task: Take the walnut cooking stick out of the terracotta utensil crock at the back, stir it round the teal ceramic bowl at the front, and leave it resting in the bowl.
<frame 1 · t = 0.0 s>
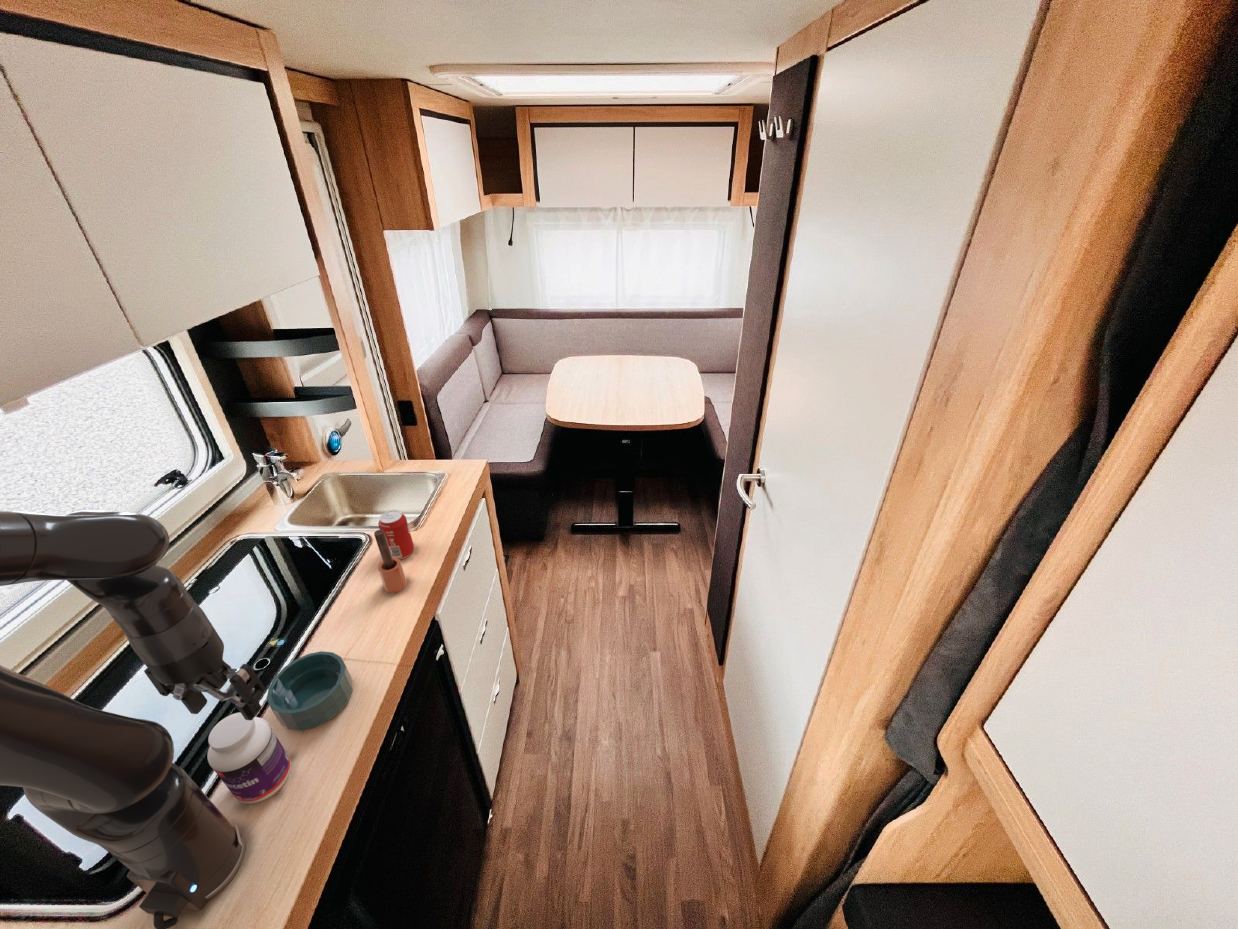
hand: (227, 711, 75), 17 cm above the worktop, tool pointing down, fingers open, 8 cm apart
beverage can: (402, 554, 129), on the worktop
bowl: (317, 700, 95), on the worktop
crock: (396, 586, 119), on the worktop
cooking stick: (395, 585, 119), resting on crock
pill bottle: (266, 780, 83), on the worktop
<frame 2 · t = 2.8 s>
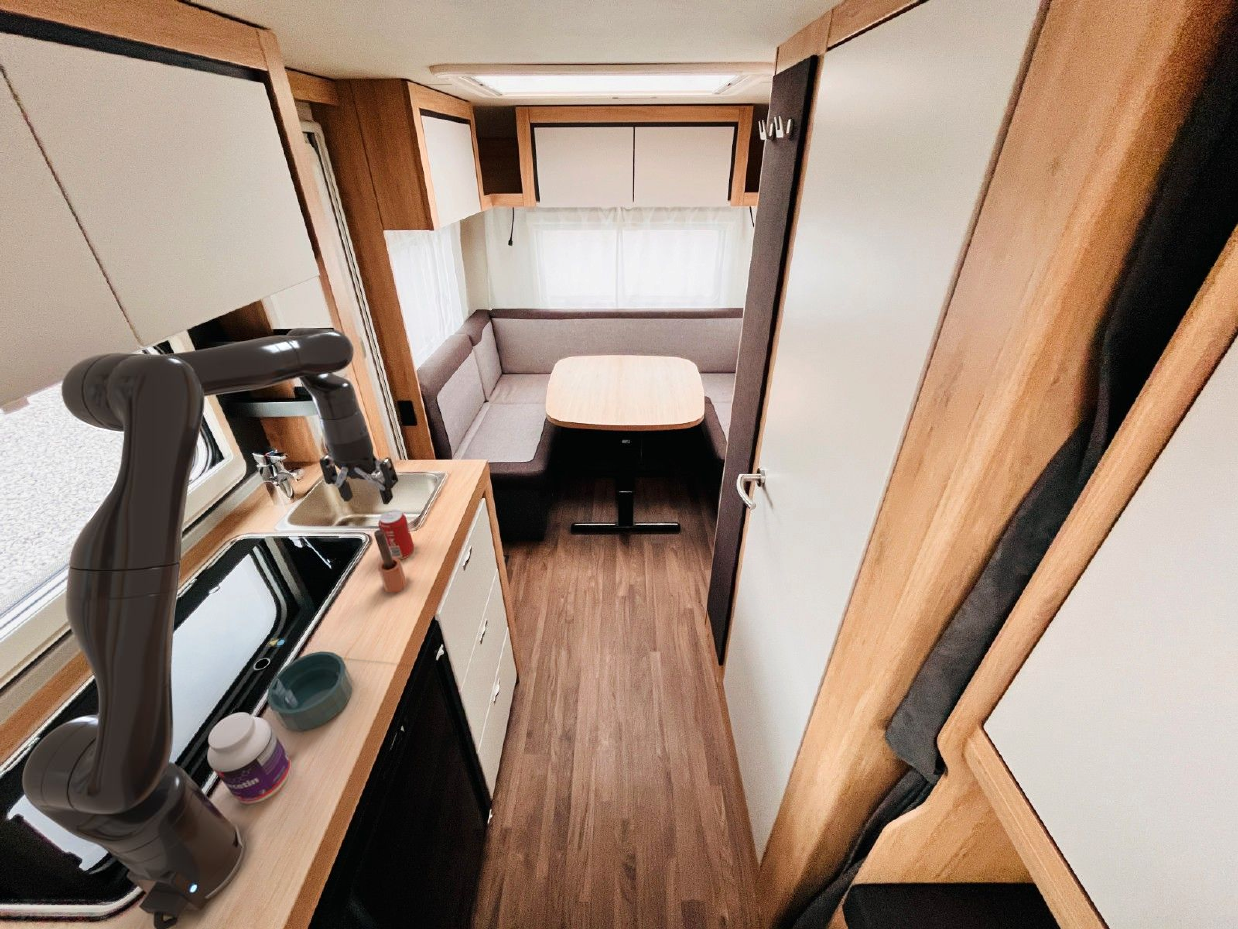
hand: (368, 500, 105), 25 cm above the worktop, tool pointing down, fingers open, 8 cm apart
nothing on the worktop moved.
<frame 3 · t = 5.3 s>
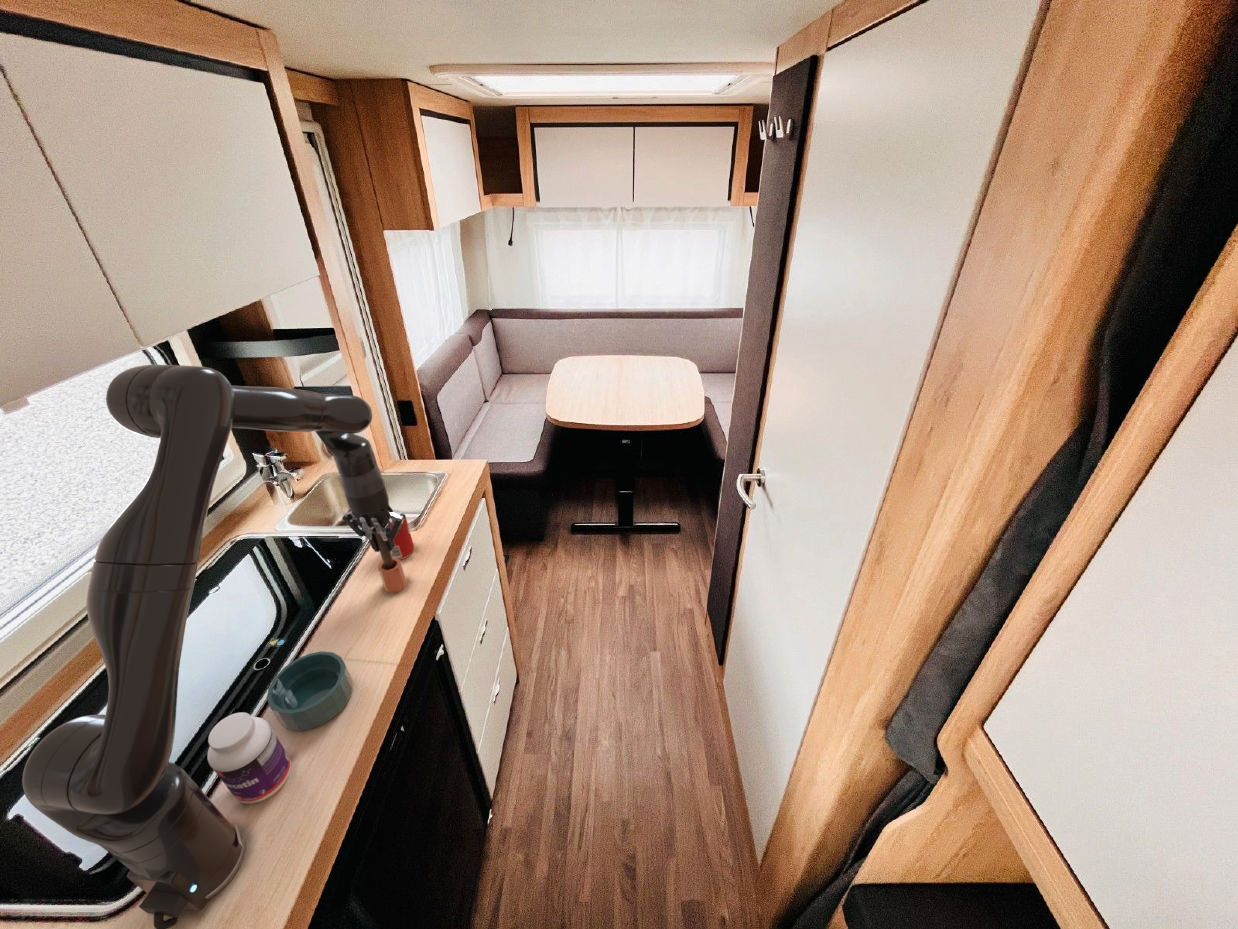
hand: (384, 549, 113), 12 cm above the worktop, tool pointing down, fingers closed on cooking stick, 2 cm apart
cooking stick: (396, 585, 119), point 1 cm above the worktop, touching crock, gripper
everything else where it was.
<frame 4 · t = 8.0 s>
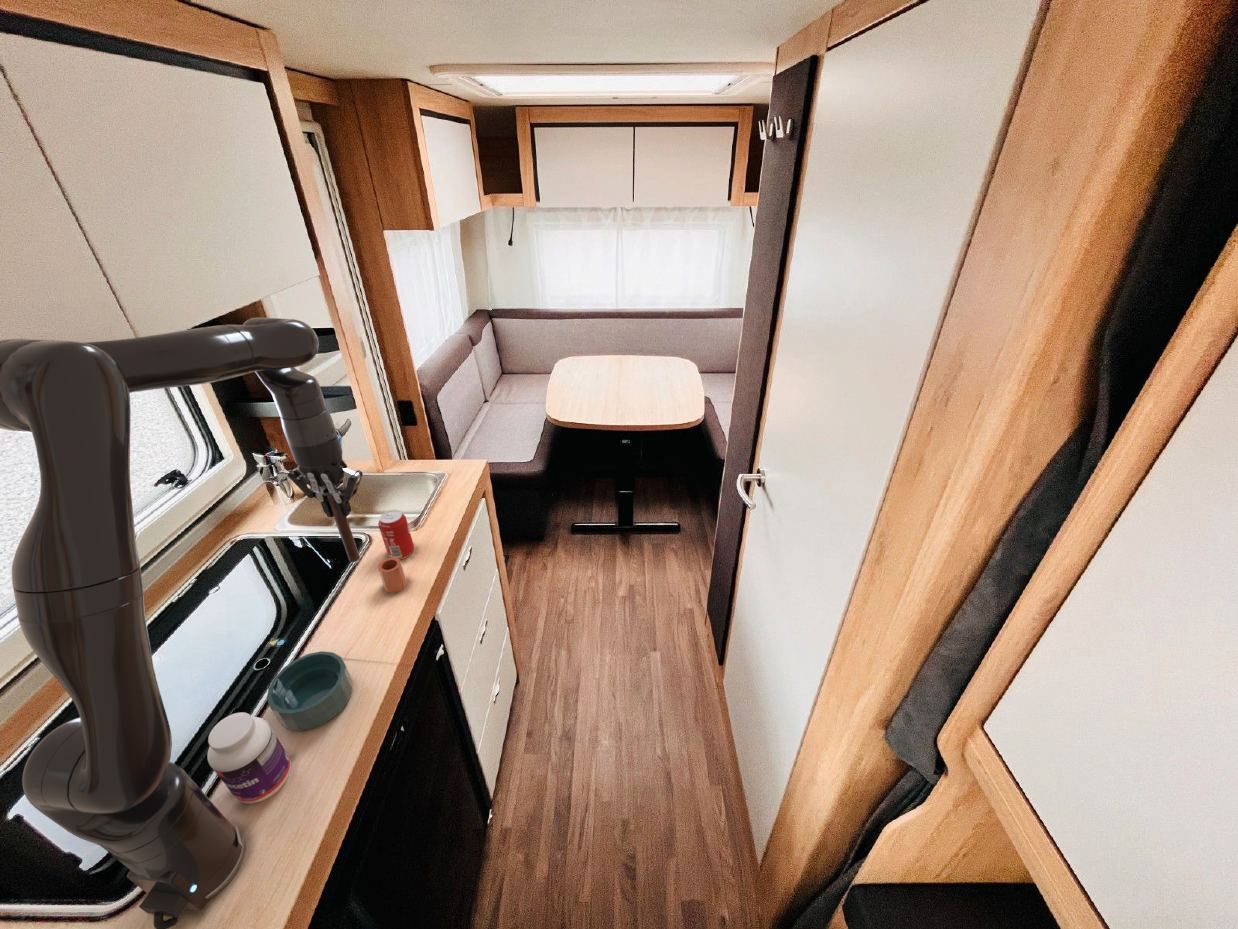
hand: (339, 514, 97), 28 cm above the worktop, tool pointing down, fingers closed on cooking stick
cooking stick: (354, 558, 102), point 17 cm above the worktop, touching gripper
everything else where it was.
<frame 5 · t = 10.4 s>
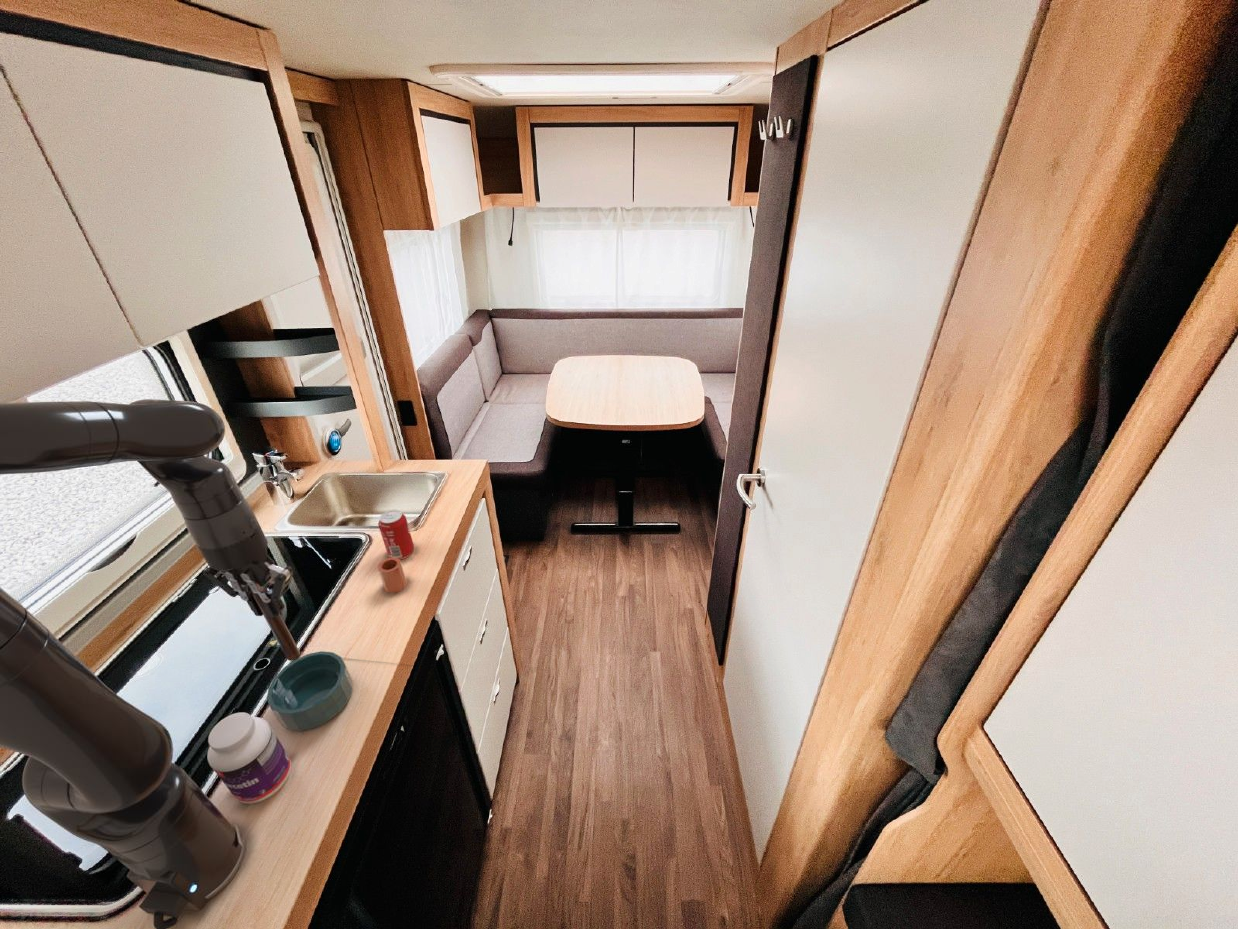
hand: (270, 612, 82), 24 cm above the worktop, tool pointing down, fingers closed on cooking stick
cooking stick: (293, 655, 88), point 13 cm above the worktop, touching gripper
everything else where it was.
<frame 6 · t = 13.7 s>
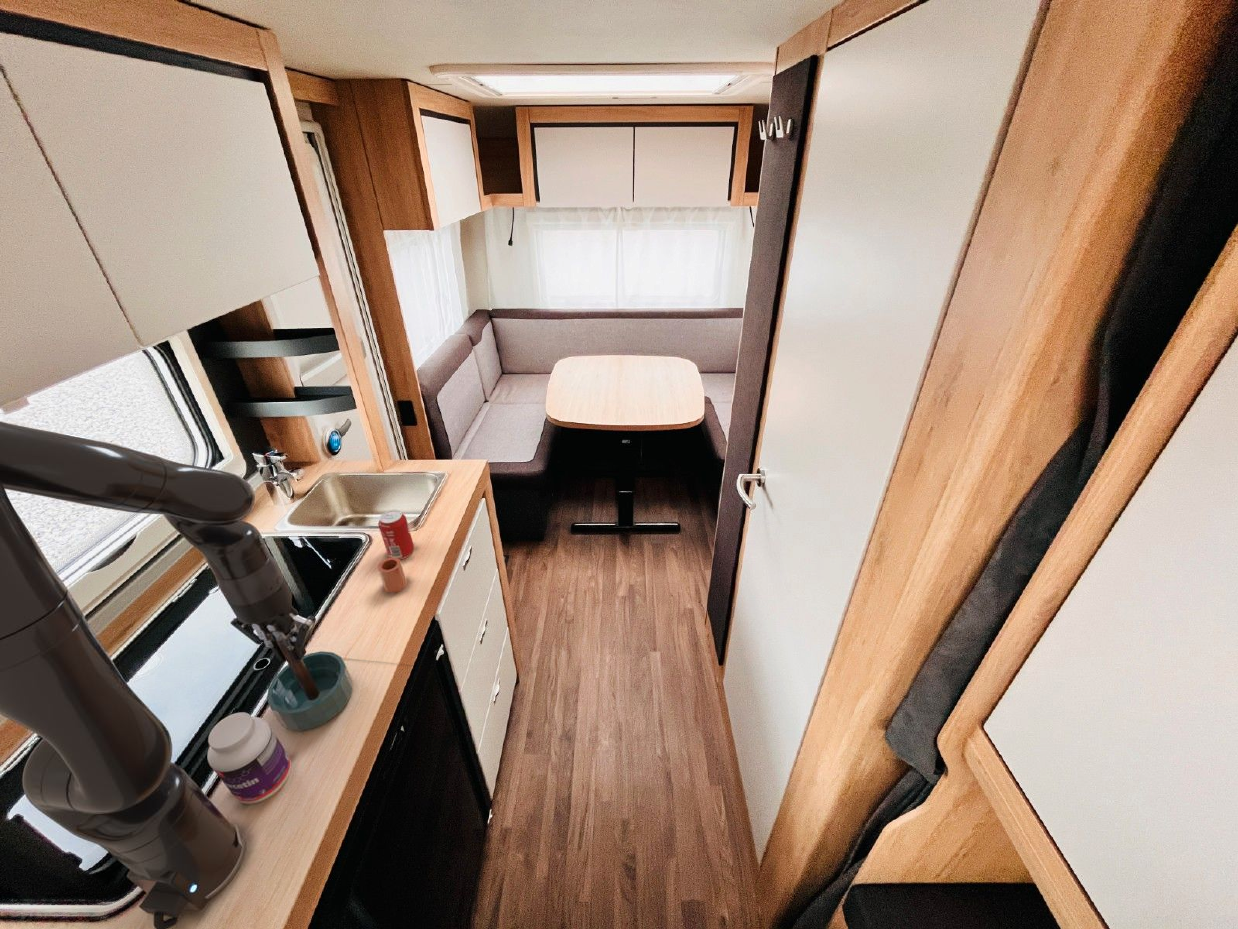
hand: (293, 657, 86), 14 cm above the worktop, tool pointing down, fingers closed on cooking stick, 2 cm apart
cooking stick: (313, 695, 92), point 3 cm above the worktop, touching gripper
everything else where it was.
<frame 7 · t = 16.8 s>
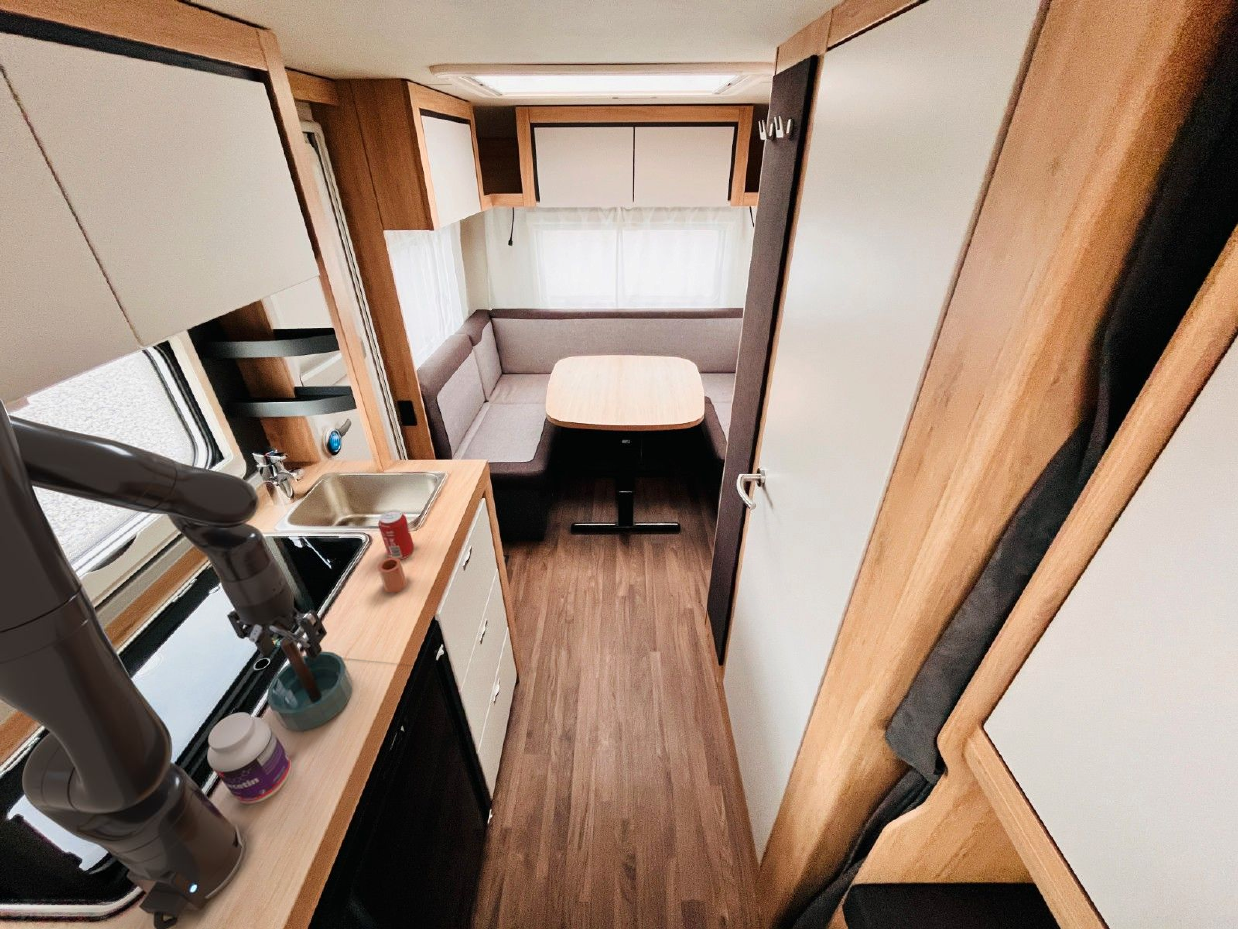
hand: (292, 653, 87), 14 cm above the worktop, tool pointing down, fingers open, 8 cm apart
cooking stick: (316, 697, 94), point 1 cm above the worktop, touching bowl
everything else where it was.
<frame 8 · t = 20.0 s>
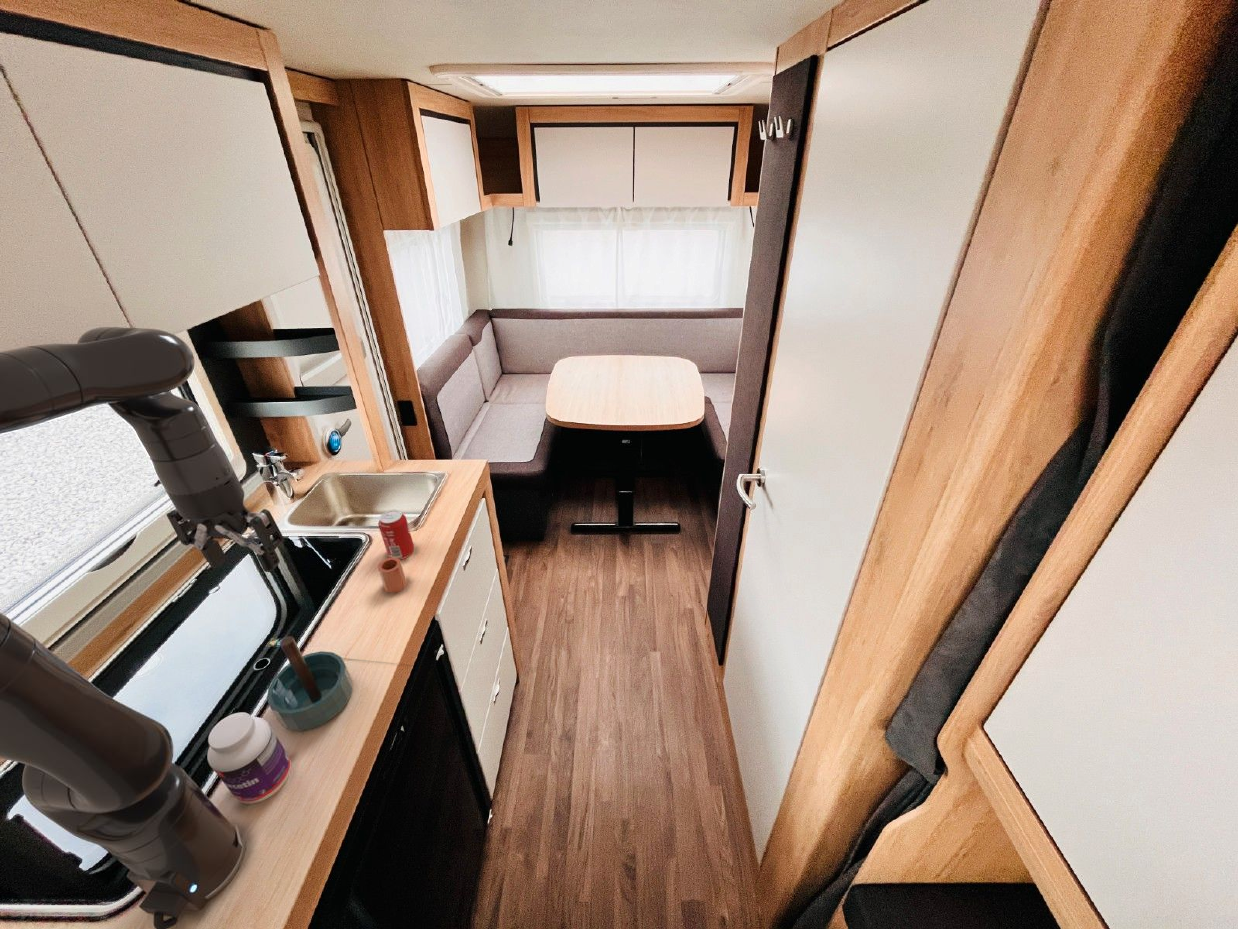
hand: (246, 566, 76), 34 cm above the worktop, tool pointing down, fingers open, 8 cm apart
nothing on the worktop moved.
at the end: cooking stick inside the target area in the bowl (0.1 cm from its centre), point 0.8 cm above the bowl's base; cooking stick moved 28.9 cm from its start; the gripper is holding nothing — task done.
